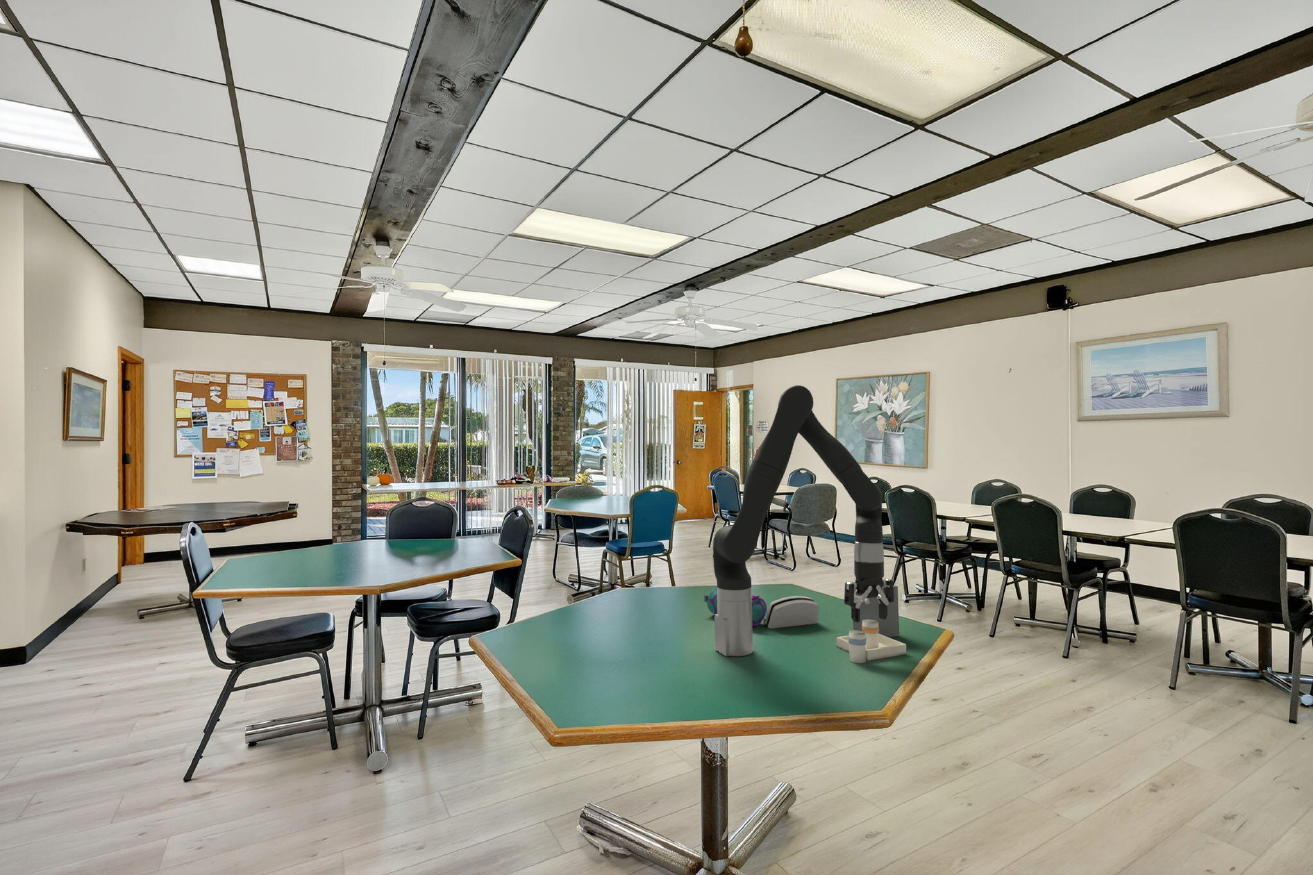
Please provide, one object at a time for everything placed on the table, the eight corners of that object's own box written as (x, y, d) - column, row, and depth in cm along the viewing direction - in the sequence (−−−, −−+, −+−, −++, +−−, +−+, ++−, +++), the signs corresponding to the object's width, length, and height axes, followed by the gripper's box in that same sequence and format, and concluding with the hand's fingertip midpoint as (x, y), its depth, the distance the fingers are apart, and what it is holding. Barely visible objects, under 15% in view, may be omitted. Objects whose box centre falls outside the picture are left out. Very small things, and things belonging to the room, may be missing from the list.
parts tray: (867, 660, 155) (867, 650, 155) (836, 646, 167) (836, 637, 167) (906, 654, 159) (906, 644, 160) (873, 640, 171) (873, 631, 171)
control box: (874, 639, 172) (873, 589, 172) (851, 629, 182) (850, 582, 182) (900, 635, 175) (899, 586, 176) (876, 626, 185) (874, 579, 185)
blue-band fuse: (854, 664, 153) (854, 636, 153) (845, 658, 157) (845, 630, 157) (870, 662, 154) (869, 634, 154) (860, 656, 158) (859, 629, 158)
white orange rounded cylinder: (869, 651, 160) (869, 624, 160) (858, 646, 164) (858, 620, 165) (882, 649, 162) (882, 622, 162) (872, 644, 166) (871, 618, 166)
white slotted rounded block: (809, 618, 194) (814, 591, 191) (817, 627, 190) (822, 599, 187) (761, 624, 189) (766, 595, 186) (768, 633, 185) (773, 604, 182)
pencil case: (703, 615, 200) (703, 586, 201) (723, 611, 206) (723, 582, 206) (749, 630, 184) (748, 597, 184) (769, 624, 189) (769, 593, 189)
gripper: (880, 555, 169) (881, 614, 169) (837, 558, 164) (838, 619, 164) (900, 559, 162) (901, 621, 162) (855, 562, 157) (856, 626, 157)
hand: (869, 620), depth 163 cm, fingers open, 8 cm apart
